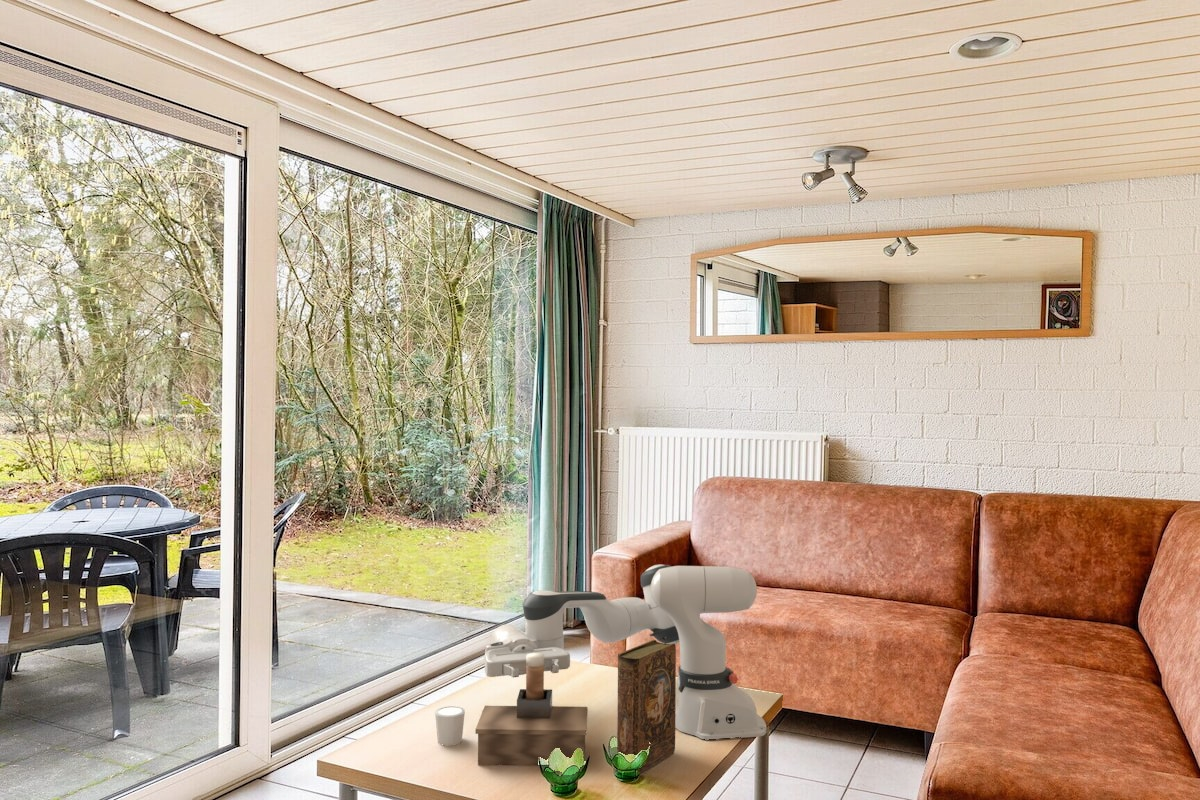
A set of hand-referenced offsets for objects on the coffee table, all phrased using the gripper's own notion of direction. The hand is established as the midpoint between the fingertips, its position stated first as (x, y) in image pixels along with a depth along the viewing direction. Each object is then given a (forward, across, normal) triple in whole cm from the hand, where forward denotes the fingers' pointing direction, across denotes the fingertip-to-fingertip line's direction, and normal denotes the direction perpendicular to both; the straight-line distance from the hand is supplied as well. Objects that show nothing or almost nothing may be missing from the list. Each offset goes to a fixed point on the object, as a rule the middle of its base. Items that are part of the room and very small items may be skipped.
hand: (536, 671), depth 197 cm
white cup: (-11, +18, -18) cm, 27 cm away
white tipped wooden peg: (-1, 0, -10) cm, 10 cm away
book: (+15, -21, -18) cm, 31 cm away
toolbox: (+2, +1, -18) cm, 18 cm away
